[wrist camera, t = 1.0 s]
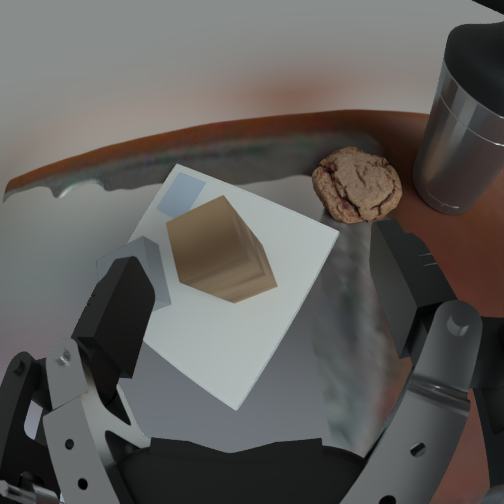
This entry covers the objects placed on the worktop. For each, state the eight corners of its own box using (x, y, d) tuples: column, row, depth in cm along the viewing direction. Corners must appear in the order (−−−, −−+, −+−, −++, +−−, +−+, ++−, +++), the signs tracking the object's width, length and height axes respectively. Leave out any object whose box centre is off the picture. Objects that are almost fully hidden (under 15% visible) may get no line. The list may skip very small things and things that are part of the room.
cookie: (405, 225, 30) (411, 214, 27) (314, 228, 33) (312, 217, 30) (392, 152, 33) (395, 138, 30) (311, 155, 36) (309, 141, 33)
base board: (179, 166, 40) (163, 150, 36) (338, 234, 31) (338, 218, 27) (101, 300, 38) (79, 294, 34) (238, 409, 29) (223, 419, 25)
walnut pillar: (221, 261, 33) (165, 222, 22) (262, 244, 32) (223, 194, 21) (234, 303, 31) (179, 282, 20) (277, 286, 31) (243, 255, 20)
